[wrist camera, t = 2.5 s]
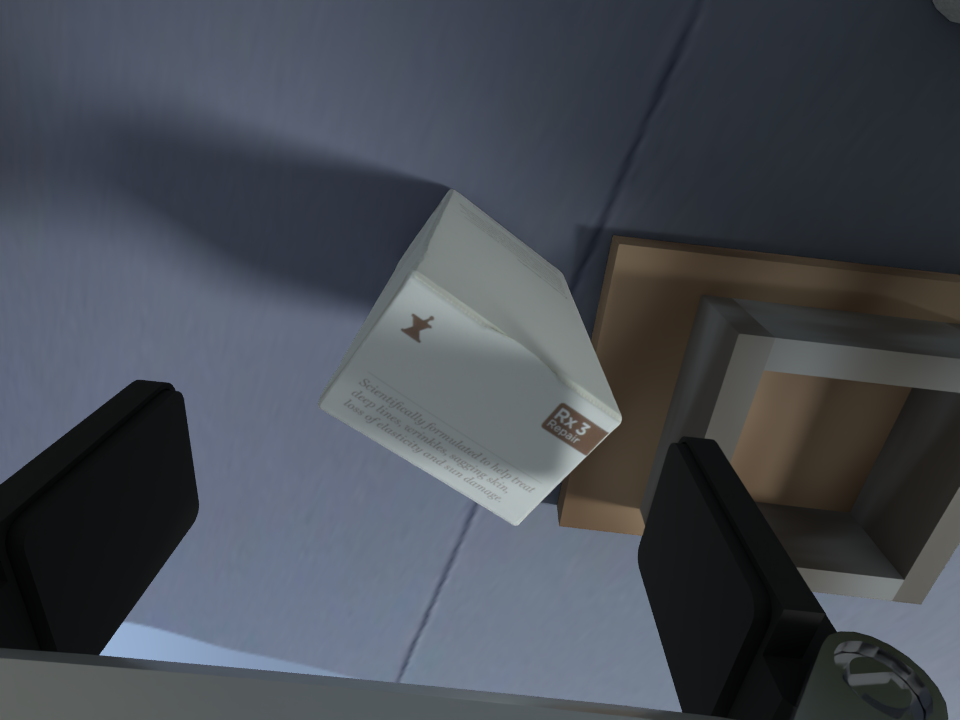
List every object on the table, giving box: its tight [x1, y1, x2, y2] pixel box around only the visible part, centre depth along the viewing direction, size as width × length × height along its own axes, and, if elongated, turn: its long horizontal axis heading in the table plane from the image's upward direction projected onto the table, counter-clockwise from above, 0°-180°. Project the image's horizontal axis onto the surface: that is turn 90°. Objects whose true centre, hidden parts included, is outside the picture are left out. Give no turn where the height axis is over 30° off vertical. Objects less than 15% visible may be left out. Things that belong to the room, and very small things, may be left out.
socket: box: [557, 235, 960, 604], centre depth 23 cm, size 18×14×6 cm
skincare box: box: [318, 189, 622, 526], centre depth 18 cm, size 6×4×12 cm
